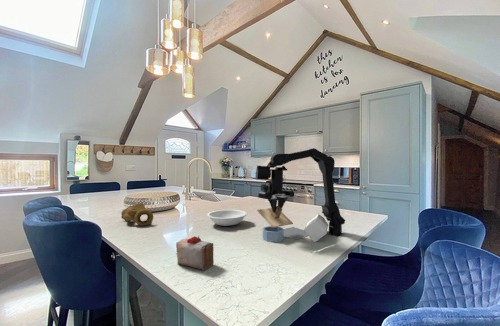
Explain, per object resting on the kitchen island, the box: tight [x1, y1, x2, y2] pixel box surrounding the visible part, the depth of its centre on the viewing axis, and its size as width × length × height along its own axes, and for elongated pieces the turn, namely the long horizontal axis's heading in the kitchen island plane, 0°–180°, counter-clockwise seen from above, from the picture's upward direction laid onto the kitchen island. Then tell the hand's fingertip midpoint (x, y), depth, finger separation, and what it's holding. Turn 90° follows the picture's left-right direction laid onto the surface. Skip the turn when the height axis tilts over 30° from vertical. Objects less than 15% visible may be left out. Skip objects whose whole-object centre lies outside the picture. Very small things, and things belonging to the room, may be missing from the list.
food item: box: [175, 235, 215, 271], centre depth 81 cm, size 14×8×10 cm, turn 63°
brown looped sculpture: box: [121, 202, 154, 227], centre depth 140 cm, size 18×13×22 cm
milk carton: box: [303, 213, 329, 243], centre depth 110 cm, size 7×7×19 cm
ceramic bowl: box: [261, 225, 285, 243], centre depth 107 cm, size 10×10×5 cm
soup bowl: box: [206, 209, 248, 227], centre depth 134 cm, size 24×24×7 cm
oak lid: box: [256, 205, 294, 228], centre depth 109 cm, size 13×13×6 cm
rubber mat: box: [283, 226, 309, 241], centre depth 115 cm, size 16×16×1 cm
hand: (276, 212), depth 109 cm, fingers closed on oak lid, 3 cm apart
